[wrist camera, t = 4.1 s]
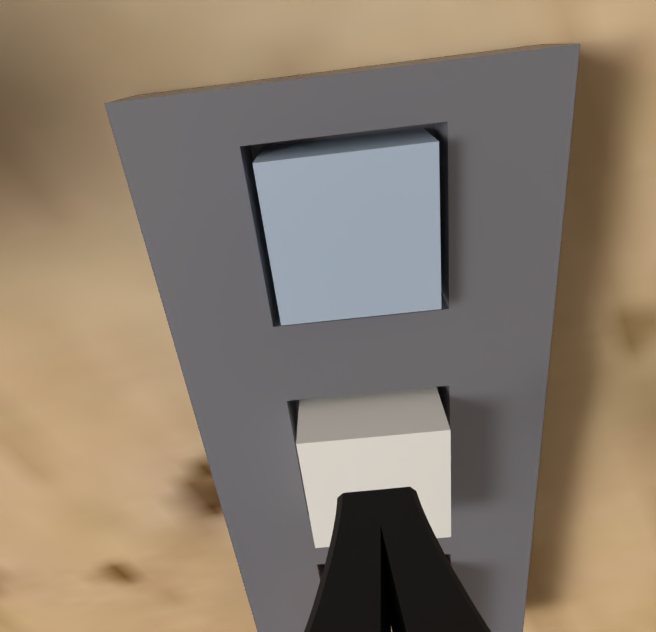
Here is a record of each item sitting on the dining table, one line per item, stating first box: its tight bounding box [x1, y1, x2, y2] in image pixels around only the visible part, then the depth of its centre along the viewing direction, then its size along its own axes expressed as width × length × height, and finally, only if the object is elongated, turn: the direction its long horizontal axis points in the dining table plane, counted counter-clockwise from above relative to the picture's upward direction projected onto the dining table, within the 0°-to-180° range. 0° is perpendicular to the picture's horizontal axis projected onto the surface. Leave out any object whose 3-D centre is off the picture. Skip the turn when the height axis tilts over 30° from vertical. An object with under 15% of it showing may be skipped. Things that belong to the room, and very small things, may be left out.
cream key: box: [296, 387, 451, 548], centre depth 15 cm, size 4×4×2 cm
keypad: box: [105, 44, 580, 632], centre depth 17 cm, size 21×10×2 cm, turn 7°
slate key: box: [253, 128, 441, 326], centre depth 13 cm, size 4×4×2 cm
